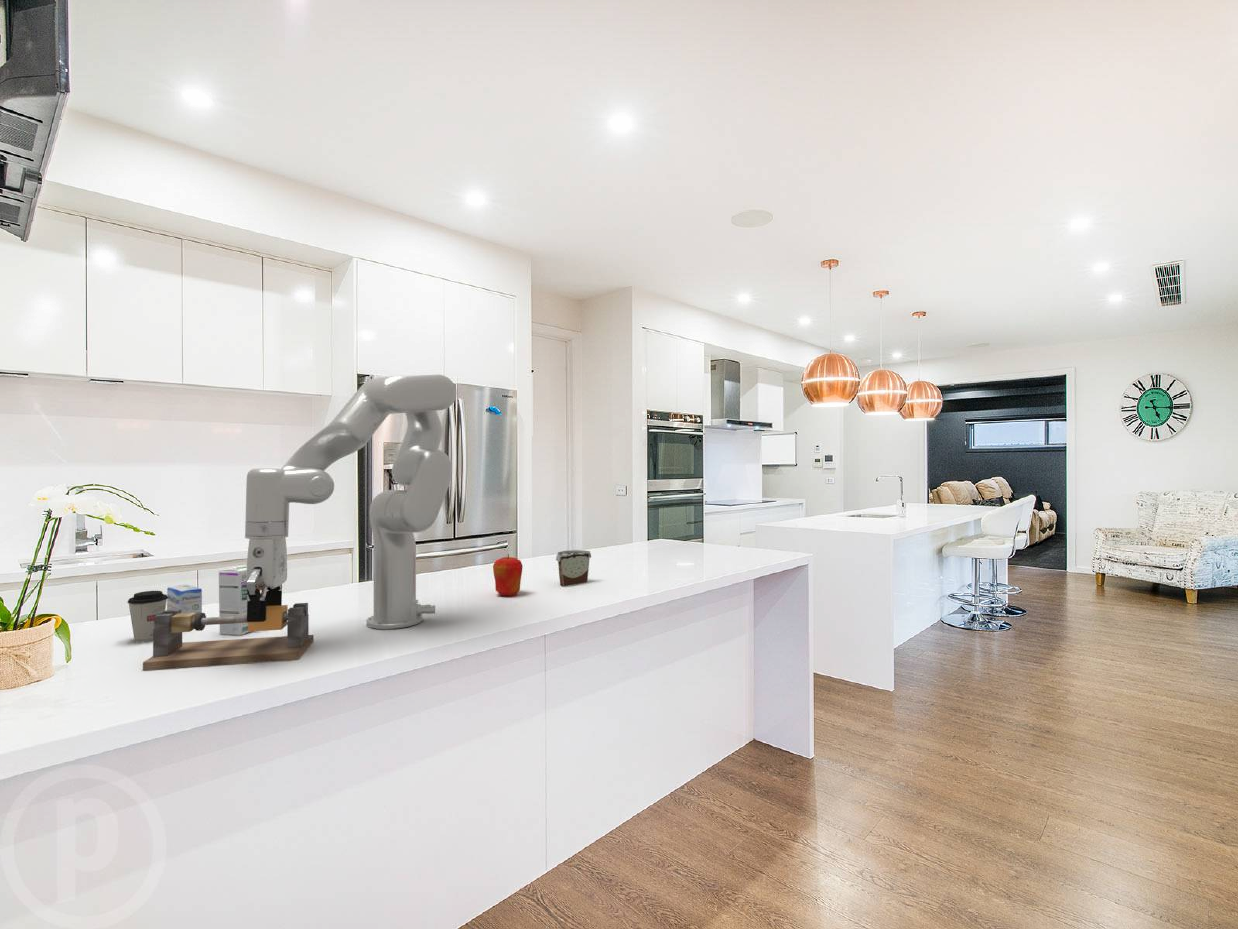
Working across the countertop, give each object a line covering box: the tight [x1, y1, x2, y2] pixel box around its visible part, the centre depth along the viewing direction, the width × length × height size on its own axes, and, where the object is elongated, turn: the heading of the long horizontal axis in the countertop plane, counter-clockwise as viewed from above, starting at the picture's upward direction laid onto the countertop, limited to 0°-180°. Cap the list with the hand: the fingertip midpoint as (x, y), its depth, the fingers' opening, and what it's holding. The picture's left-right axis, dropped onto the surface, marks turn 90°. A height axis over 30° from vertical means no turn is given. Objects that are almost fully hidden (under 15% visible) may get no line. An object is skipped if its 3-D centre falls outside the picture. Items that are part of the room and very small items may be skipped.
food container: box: [555, 549, 592, 588], centre depth 190 cm, size 12×6×10 cm, turn 130°
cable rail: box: [142, 602, 315, 671], centre depth 120 cm, size 26×12×9 cm, turn 104°
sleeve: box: [248, 604, 289, 633], centre depth 121 cm, size 6×4×4 cm, turn 104°
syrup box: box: [218, 565, 249, 636], centre depth 136 cm, size 6×6×14 cm
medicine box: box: [166, 584, 203, 613], centre depth 142 cm, size 8×4×9 cm, turn 56°
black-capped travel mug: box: [127, 590, 168, 643], centre depth 130 cm, size 7×7×10 cm
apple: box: [492, 554, 523, 597], centre depth 174 cm, size 9×8×12 cm
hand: (264, 615), depth 121 cm, fingers open, 9 cm apart
